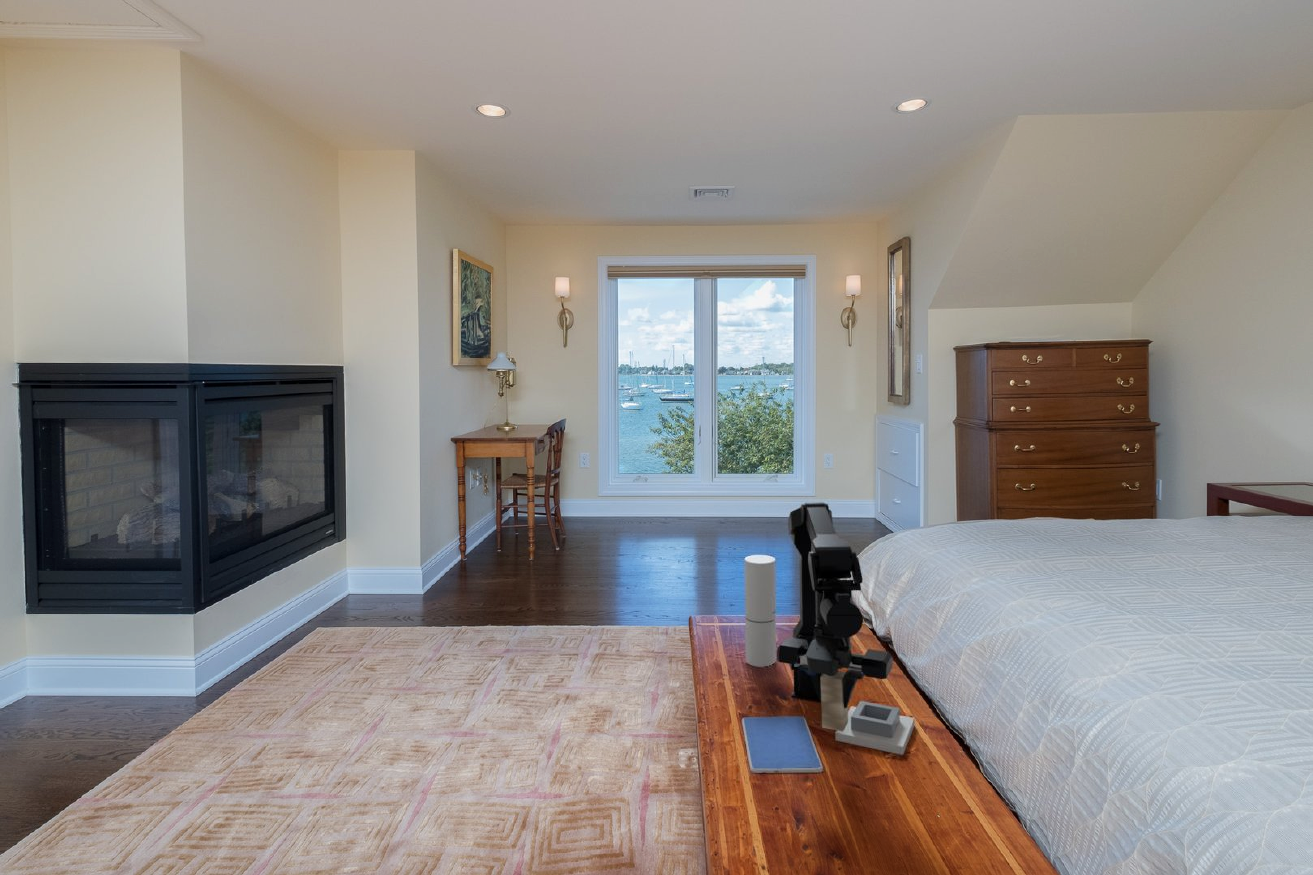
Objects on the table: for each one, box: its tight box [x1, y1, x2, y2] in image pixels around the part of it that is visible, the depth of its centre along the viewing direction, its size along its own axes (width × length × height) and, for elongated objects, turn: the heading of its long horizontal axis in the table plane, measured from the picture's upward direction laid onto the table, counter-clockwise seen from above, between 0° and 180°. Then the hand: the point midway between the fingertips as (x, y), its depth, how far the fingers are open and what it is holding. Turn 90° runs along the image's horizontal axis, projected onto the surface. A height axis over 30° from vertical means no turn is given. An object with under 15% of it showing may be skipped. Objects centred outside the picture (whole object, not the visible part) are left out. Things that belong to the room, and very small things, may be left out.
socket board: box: [835, 700, 916, 756], centre depth 135 cm, size 12×12×4 cm
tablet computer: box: [741, 716, 824, 774], centre depth 132 cm, size 19×13×1 cm, turn 178°
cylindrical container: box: [744, 554, 777, 668], centre depth 170 cm, size 7×7×25 cm
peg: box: [820, 670, 849, 731], centre depth 124 cm, size 4×4×9 cm
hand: (834, 705), depth 124 cm, fingers closed on peg, 4 cm apart
